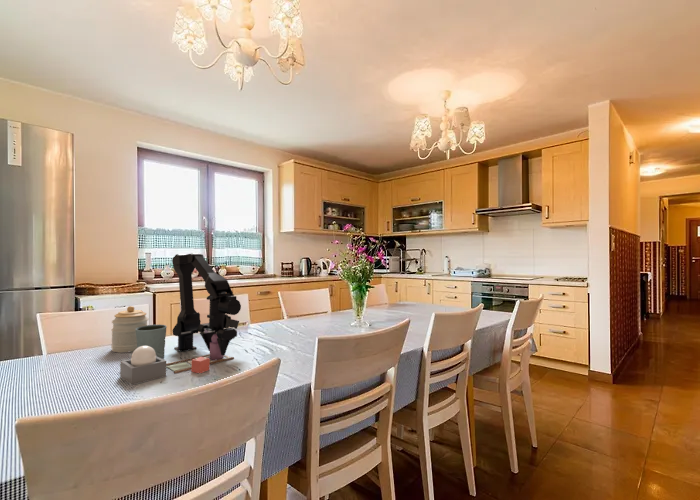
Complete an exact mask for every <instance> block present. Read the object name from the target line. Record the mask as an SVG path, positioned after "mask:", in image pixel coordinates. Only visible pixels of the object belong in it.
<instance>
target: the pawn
mask: <svg viewBox="0 0 700 500" xmlns="http://www.w3.org/2000/svg"><path fill="white" fill-rule="evenodd" d="M217 338H218V336H217V333H216V334H214V335H213V336H212V338H211V340H212V342H210V351H209V354H210V357H209V358H210V360H212V361H216V360H220V359H224V355H223V356H222V355H221V352H220V349H219V345H218V341H217Z"/></svg>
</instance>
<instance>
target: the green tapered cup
mask: <svg viewBox="0 0 700 500" xmlns="http://www.w3.org/2000/svg"><path fill="white" fill-rule="evenodd" d="M167 327H168V326H167V325H165V324H147V325H146V326H141V327H138V328H136V329H135V331H136V341H137V348H138V347H141V346H150V347H152V348H153V349H154V350H155V353H156V356H157V357H159V358H162V359H164V358H165V352H166V351H165V350H166V349H165V347H166V336H167Z"/></svg>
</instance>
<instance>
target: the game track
mask: <svg viewBox="0 0 700 500" xmlns="http://www.w3.org/2000/svg"><path fill="white" fill-rule="evenodd" d="M199 357H206V358H210V353H208V354H204V355H199V356H194V357H190V358H185V359H180V360H176V361H173V362H171V361H170V362H168V363H167V362H166V369H168V370H171V371H172V372H173V373H174V374H179V373H182V372H187V371H190V370H191V368H192V359H195V358H199ZM224 357H225V358H223V359H220V360H210V366H211V365H214V364H217V363H222V362H227V361H231V360H234V359H235V357H234V356H228V355H226V354H225V355H224Z"/></svg>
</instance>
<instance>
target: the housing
mask: <svg viewBox="0 0 700 500" xmlns="http://www.w3.org/2000/svg"><path fill="white" fill-rule="evenodd" d="M166 364H167V360H166V359H164V358H163V359H162V358H159V357H157V356H156V362H155V363H150V364H145V365H141V366H136V367H134V366H132V365H131V358H130V359H125V360H121V361H120V365H119V367H120V368H119V369H120V371H119V373H120V374H119V377H120V378H121V379H123V380H124V381H125V382H127V383H128V384H130V385H131V386H133V385H137V384H141V383H146V382H148V381H153V380H157V379H162V378H164V377H165V378H166V377H167V367H166Z"/></svg>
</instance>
